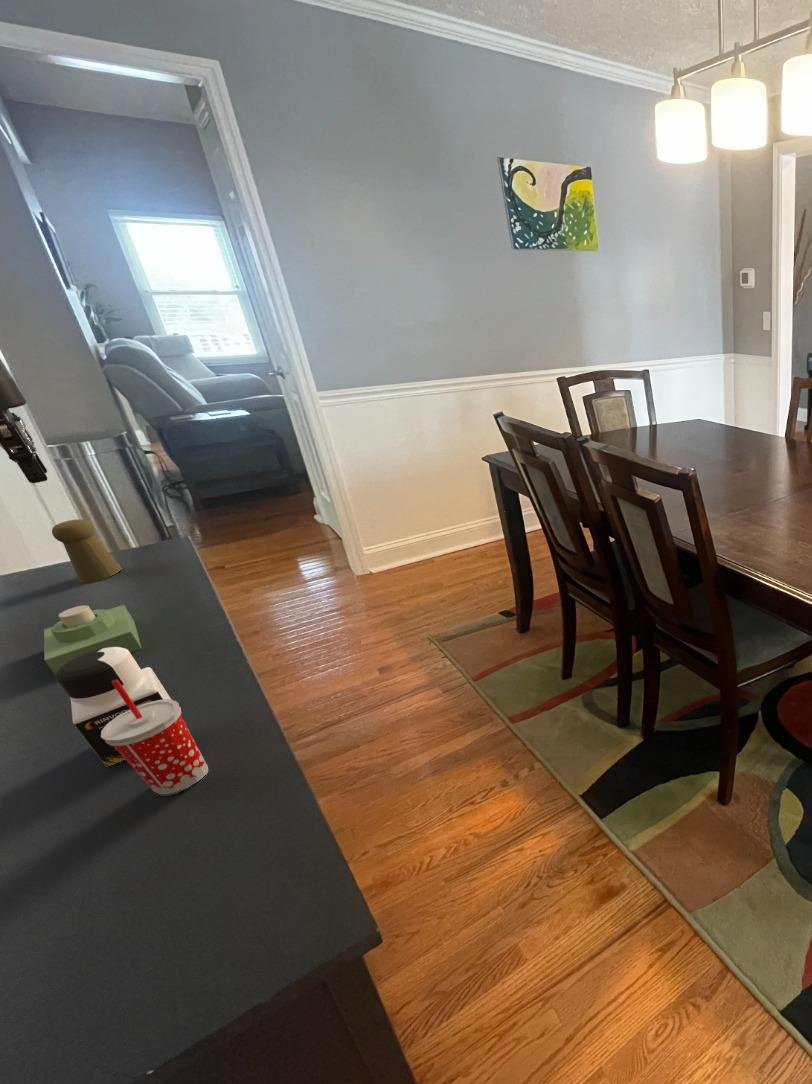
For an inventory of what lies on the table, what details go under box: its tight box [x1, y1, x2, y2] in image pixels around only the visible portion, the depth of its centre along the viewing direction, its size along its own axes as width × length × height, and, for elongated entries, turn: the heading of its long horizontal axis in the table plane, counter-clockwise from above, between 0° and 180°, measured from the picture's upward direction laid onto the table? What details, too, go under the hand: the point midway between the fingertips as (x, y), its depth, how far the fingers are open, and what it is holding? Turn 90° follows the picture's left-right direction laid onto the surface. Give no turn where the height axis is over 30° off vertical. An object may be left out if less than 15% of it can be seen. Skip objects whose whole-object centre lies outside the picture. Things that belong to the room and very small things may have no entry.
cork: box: [51, 518, 123, 584], centre depth 110 cm, size 6×6×11 cm
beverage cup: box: [101, 679, 209, 794], centre depth 63 cm, size 6×6×14 cm
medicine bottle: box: [55, 647, 172, 768], centre depth 70 cm, size 7×7×12 cm
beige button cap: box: [58, 604, 96, 628], centre depth 88 cm, size 3×3×2 cm
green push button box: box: [43, 604, 143, 676], centre depth 90 cm, size 12×9×5 cm
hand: (39, 477), depth 104 cm, fingers open, 6 cm apart
